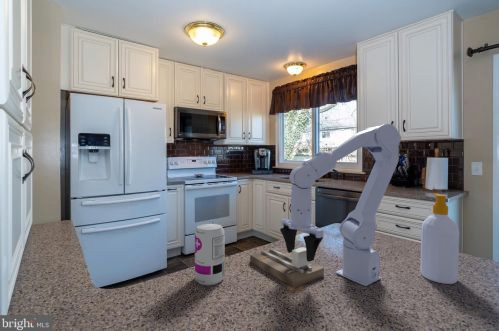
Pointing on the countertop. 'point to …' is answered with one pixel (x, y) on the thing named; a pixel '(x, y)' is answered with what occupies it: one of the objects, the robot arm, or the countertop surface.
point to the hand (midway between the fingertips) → (300, 256)
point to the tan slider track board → (285, 267)
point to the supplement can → (209, 253)
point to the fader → (299, 258)
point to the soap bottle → (439, 245)
